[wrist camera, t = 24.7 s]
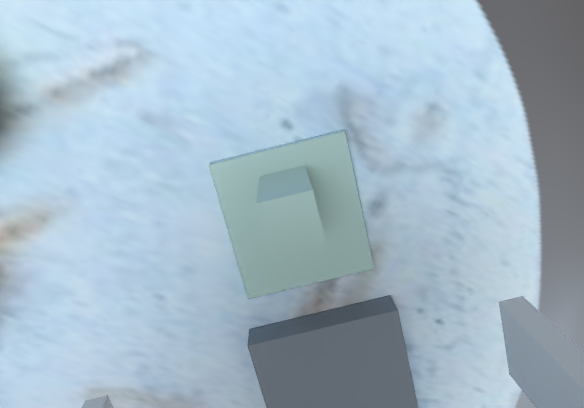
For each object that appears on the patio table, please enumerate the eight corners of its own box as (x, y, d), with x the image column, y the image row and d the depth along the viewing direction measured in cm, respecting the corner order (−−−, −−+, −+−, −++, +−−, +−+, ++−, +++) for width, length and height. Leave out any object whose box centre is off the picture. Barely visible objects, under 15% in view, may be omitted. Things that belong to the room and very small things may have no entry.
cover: (249, 292, 47) (242, 353, 36) (210, 162, 43) (191, 190, 33) (371, 262, 46) (398, 316, 36) (342, 129, 43) (364, 147, 33)
